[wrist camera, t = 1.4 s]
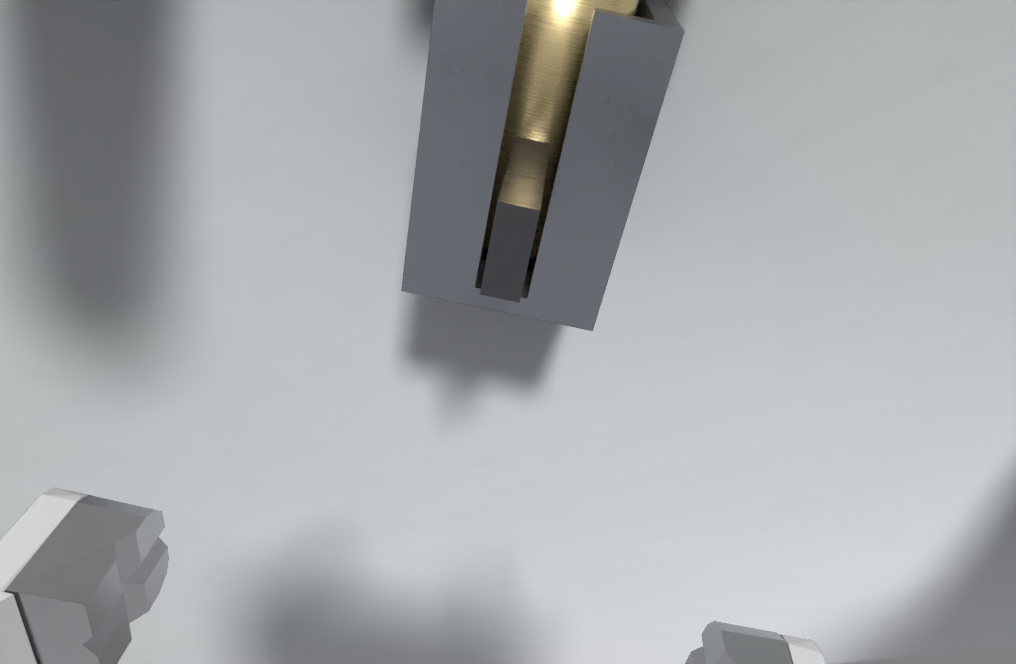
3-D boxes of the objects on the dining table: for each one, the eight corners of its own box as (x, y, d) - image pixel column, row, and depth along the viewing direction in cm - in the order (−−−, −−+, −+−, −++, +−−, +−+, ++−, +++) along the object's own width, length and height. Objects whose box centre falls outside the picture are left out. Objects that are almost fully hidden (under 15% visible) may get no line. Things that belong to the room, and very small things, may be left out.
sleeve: (661, -4, 26) (684, 31, 20) (591, 245, 32) (592, 331, 26) (472, -45, 26) (437, -24, 20) (437, 212, 32) (401, 290, 26)
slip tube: (657, -101, 24) (700, -92, 15) (575, 215, 30) (570, 356, 21) (515, -133, 24) (470, -143, 15) (464, 192, 30) (411, 322, 21)
